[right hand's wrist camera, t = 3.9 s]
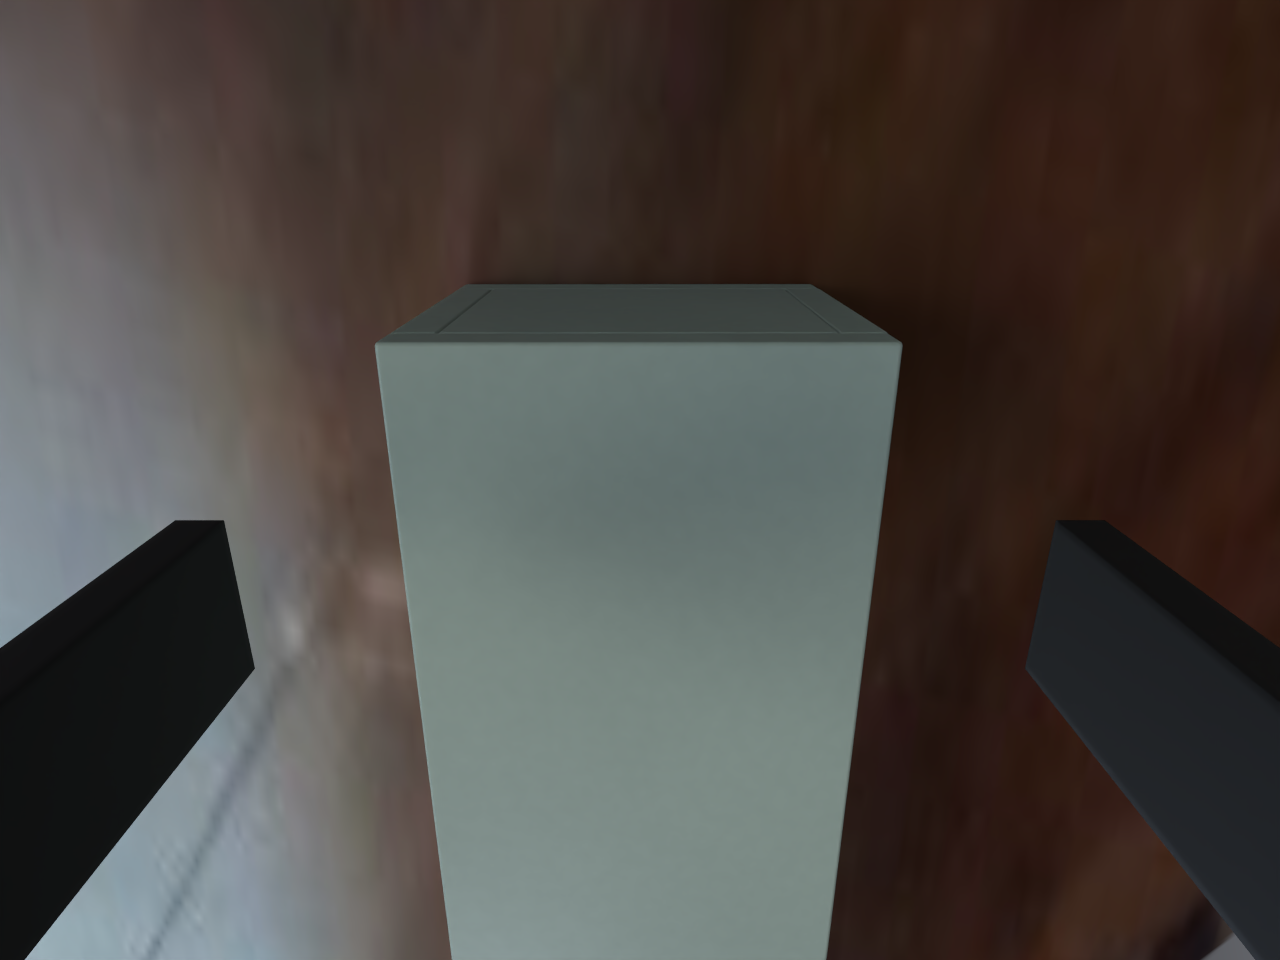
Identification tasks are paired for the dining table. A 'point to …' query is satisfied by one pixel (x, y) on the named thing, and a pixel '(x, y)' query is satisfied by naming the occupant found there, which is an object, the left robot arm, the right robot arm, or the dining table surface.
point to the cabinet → (638, 607)
